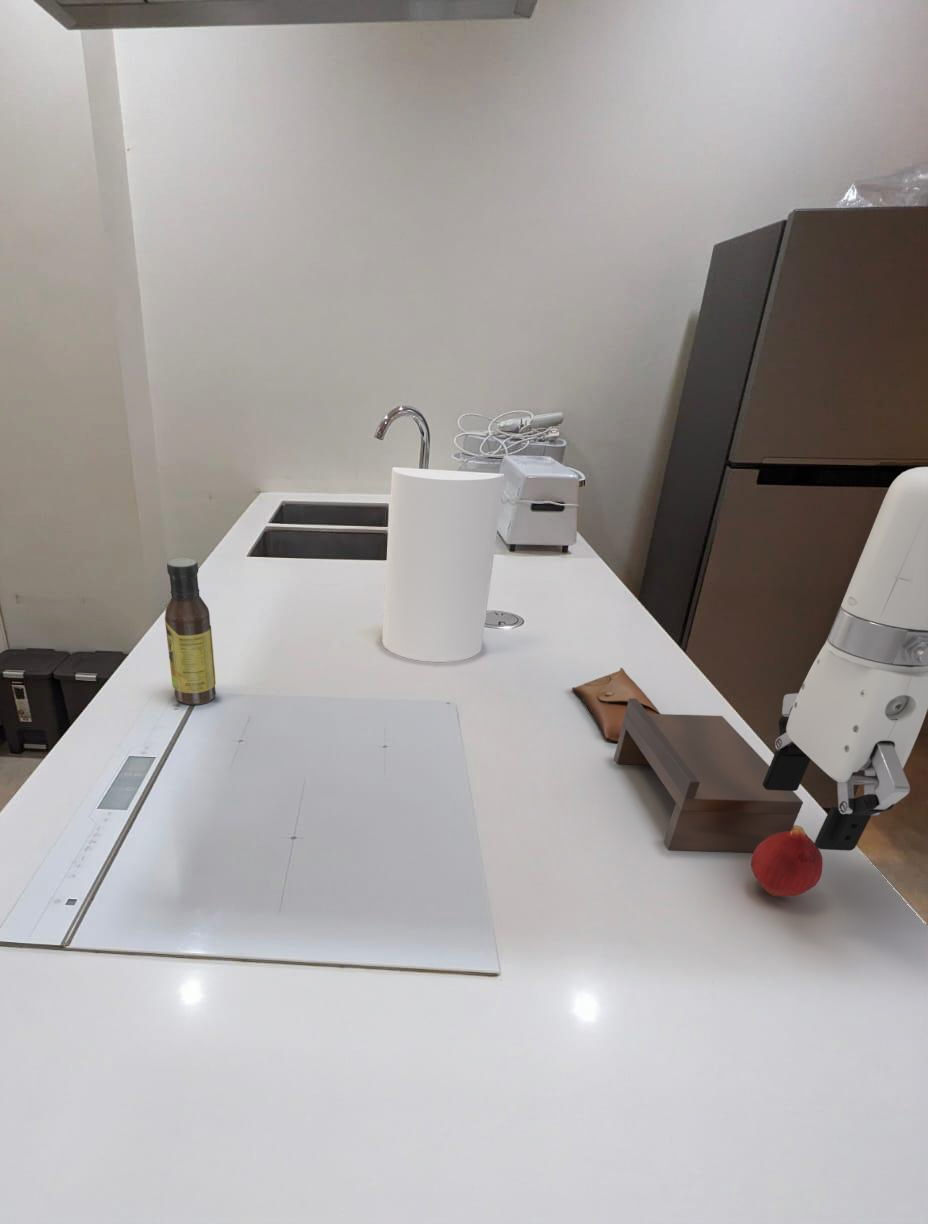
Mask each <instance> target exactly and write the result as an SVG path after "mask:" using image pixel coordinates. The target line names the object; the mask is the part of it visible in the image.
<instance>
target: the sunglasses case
mask: <svg viewBox="0 0 928 1224" xmlns="http://www.w3.org/2000/svg"><path fill="white" fill-rule="evenodd" d="M571 691H573V692H574V693H575V694H576V695H577V696H578V697H579V699H580V700H581V701H582V702H583V704H584V705H585V707H586V708H587V710H588V711H589V713H590V714H591V716H592V718H593V720H594V721H595V723H596V725H597V726H598V728H599V729H600V731H601V733H602V734H603V736H604V738H605V739H606V740H609V741H612V742H617V743H618V740H619V736H620V732H621V728H622V724H623V720H624V716H625V712H626V708H627V704H628V700H629V698H631V699H637V700H638V701H639V702H640V704H641V705H642V706H643V708H644V709H645V710H646V712H647V713H648V714H661V712H660V711H659V710H658V709H657V707H656V706H655V704H654V703H653V701H651V700H650V698H649V697H648V696H647V694H646V693H644V691H643V690H642V689H641V688H640V686H638V685H637V684H636V682H635V681H634V680H633V679H632V678H631V677H630V676H629V675H628V674H627V673H626V671H625V670H624V668H622V667H620V668H619V670H618V671H615V672H612V673H609V674H607V675H604V676H602V677H599V678H596V679H594V680H591V681H588V682H586V683H583V684H581V685H577V686H573V687H571Z"/></svg>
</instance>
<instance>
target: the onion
mask: <svg viewBox="0 0 928 1224" xmlns="http://www.w3.org/2000/svg"><path fill="white" fill-rule="evenodd" d="M820 850H821V849H819V848H818V847H817V846H816V845H815V841H813V840H812V839H811V838H810V837H809V836H808V835H807V833H806V832H805V830H804V828H803V827H802V826H801V825H797V824H796V825H795V824H794V826H793V828H792V830H791V831H784V832H780V833H776V834H773V835H771V836H769V837H768V838H766V839H765V840H763V841H762V842H761V843H760V844H759V845H758V846H757V847H756V849H755V850H754V852H752V857H751V861H750V867H751V871H752V873H753V876H754V877H755V879H756V881H757V882H759V884H760V885H761V887H762V888H763V890H765V893H767V894H768V895H769V896H771V897H781V898H786V897H794V896H798V895H802V894H805V893H806V892H807V891H809V890H811V889H812V888H814V887H816V885H817V884H818V882H819V881H820V880H821V877H822V873H823V866H824V865H823V864H824V863H823V855H822V853H821V851H820Z"/></svg>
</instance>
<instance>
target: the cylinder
mask: <svg viewBox="0 0 928 1224" xmlns="http://www.w3.org/2000/svg"><path fill="white" fill-rule="evenodd" d="M505 475H506V474H505V473H497V472H481V471H480V472H479V471H463V470H449V469H448V470H447V469H432V468H431V469H430V468H414V467H400V466H399V467H398V466H393V467H392V469H391V479H390V480H391V481H390V482H391V484H390V500H389V517H388V536H387V552H386V566H385V567H386V570H385V585H384V587H385V588H384V601H383V602H384V604H383V621H382V623H383V624H382V638H381V639H382V640H381V643H382V645H383V647H384V648H385V649H386V650H387V651H389V652H390V653H392V654H394V655H396V656H398V657H401V658H405V659H409V660H414V661H419V662H427V663H428V662H429V663H452V662H459V661H464V660H467V659H470V658H473V657H475V656H477V655H478V654H479V653H480V652H481V651H482V649H483V641H484V634H485V626H486V625H485V624H486V618H487V612H488V611H487V610H488V604H489V597H490V595H489V594H490V587H491V580H492V572H493V564H494V559H495V558H494V557H495V549H496V542H497V535H498V528H499V527H498V526H499V519H500V513H501V505H502V499H503V498H502V497H503V489H504V482H505Z"/></svg>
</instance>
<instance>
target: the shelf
mask: <svg viewBox="0 0 928 1224" xmlns="http://www.w3.org/2000/svg"><path fill="white" fill-rule="evenodd" d="M616 744H617V745H616V748H615V751H614V756H613V760H614V761H615V763H616V764H617V765H637V766H650V767H651V769H652V770H653V771H654V772H655V774H656V776H657V777H658V779H659V780H660V781H661V783H662V785H663V786H664V787H665V789H666V790H667V792H668V794H669V795H670V796H671V798H672V800H673V801H674V802H675V805H674V808H673V811H672V815H671V817H670V821H669V823H668V827H667V830H666V833H665V836H664V839H663V843H664V845H665V846H666V848H667V850H668V851H695V852H696V851H697V852H721V853H722V852H723V853H724V852H726V853H729V852H730V853H753V852H754V850H755V849H756V847H757V846H758V845H759V844H760V843H761V842H762V841H763V840H765V839H766V838H768V837H769V836H771V835H773V834H776V833H780V832H784V831H791V830H792V828H793V826H794V825H795V823H796V821H797V818H798V816H799V814H800V811H801V809H802V807H803V804H804V801H803V799H801V798H800V797H799V796H798V794H797V793H795V791H782V790H766V789H765V788H764V787H763V785H762V784H763V782H764V779H765V777H766V774H767V772H768V769H769V767H770V764H768V763H767V762H766V761H765V760H764V759H763V758H762V756H761V755H760V754H759V753H758V752H757V751H756V750H755V749H754V748H753V747H752V745H750V744H749V742H747V741H746V739H745V738H744V737H743V736H742V735H741V734H740V733H739V732H738V731H737V730H736V729H735V728H734V727H733V726H732V725H731V724H730V722H729V721H728V720H727V719H726V718H725V717H724V716H723V715H703V714H672V713H660V714H648V713H647V712H646V710H645V709H644V708H643V706H642V705H641V704H640V702H639V701H638V700H637V699H631V698H629V700H628V704H627V708H626V712H625V716H624V720H623V724H622V728H621V732H620V736H619V740H618V742H617V743H616Z"/></svg>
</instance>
